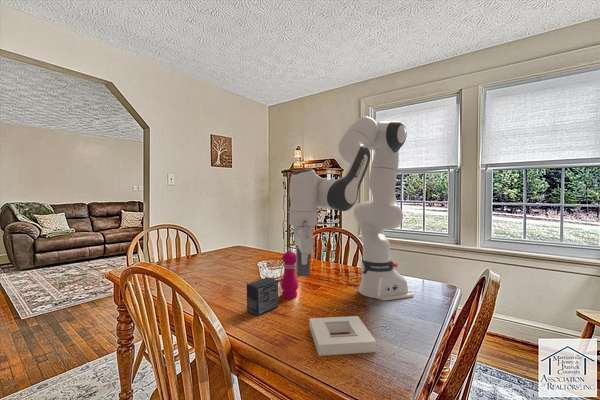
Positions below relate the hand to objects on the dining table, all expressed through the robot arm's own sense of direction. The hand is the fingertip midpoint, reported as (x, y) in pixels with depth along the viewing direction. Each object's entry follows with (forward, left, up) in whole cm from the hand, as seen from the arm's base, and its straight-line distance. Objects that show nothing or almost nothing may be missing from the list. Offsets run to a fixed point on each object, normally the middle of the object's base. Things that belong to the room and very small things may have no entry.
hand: (303, 261), depth 96 cm
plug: (0, 0, -4) cm, 4 cm away
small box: (+13, -14, -21) cm, 29 cm away
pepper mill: (+2, -26, -21) cm, 34 cm away
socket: (-10, +10, -21) cm, 25 cm away
